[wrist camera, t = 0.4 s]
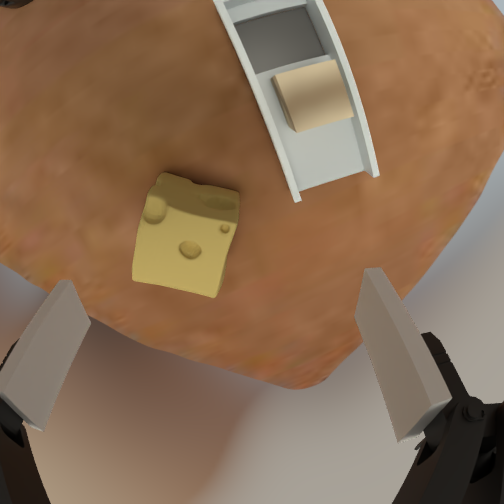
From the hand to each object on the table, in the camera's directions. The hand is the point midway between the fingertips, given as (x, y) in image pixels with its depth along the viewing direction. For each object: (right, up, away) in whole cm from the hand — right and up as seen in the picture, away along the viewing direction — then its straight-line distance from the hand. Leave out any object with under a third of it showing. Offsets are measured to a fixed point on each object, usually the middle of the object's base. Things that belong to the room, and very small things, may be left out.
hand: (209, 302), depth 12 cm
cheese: (-6, +7, +26) cm, 28 cm away
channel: (+7, +21, +17) cm, 28 cm away
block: (+8, +20, +17) cm, 27 cm away
